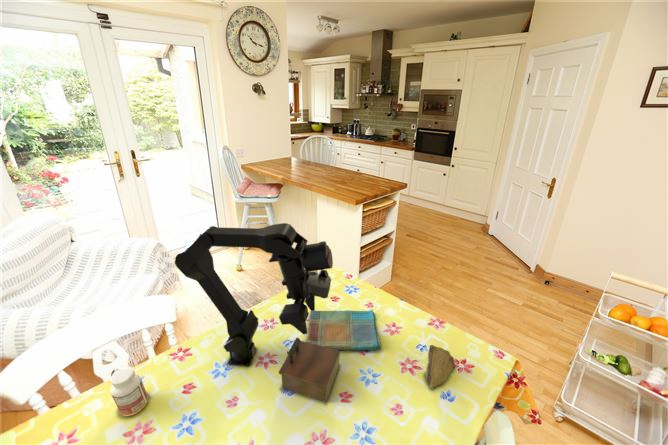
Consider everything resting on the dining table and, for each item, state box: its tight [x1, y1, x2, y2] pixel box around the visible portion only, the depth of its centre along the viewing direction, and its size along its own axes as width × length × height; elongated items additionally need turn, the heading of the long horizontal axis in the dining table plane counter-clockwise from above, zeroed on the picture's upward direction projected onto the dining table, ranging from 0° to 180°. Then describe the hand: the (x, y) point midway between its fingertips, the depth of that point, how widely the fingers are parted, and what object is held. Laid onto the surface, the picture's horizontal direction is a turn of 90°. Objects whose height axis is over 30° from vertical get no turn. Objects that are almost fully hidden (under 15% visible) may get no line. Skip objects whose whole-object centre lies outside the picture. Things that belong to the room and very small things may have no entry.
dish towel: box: [306, 309, 382, 351], centre depth 97 cm, size 17×23×2 cm
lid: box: [278, 337, 340, 388], centre depth 79 cm, size 13×12×5 cm
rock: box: [425, 344, 456, 390], centre depth 82 cm, size 11×9×10 cm
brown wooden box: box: [280, 354, 340, 403], centre depth 81 cm, size 13×12×5 cm
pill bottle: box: [109, 366, 149, 417], centre depth 72 cm, size 6×6×11 cm
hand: (309, 321), depth 79 cm, fingers open, 9 cm apart
